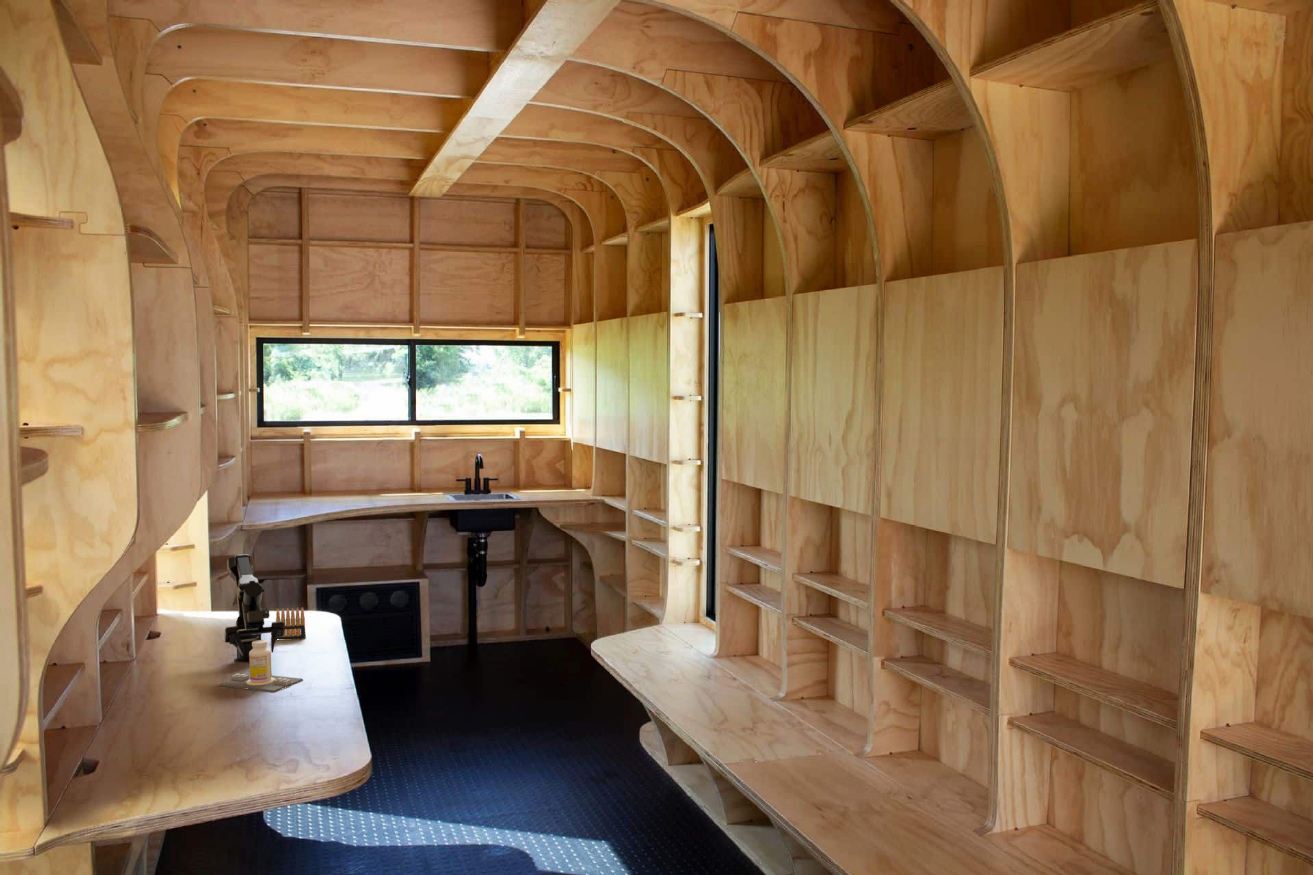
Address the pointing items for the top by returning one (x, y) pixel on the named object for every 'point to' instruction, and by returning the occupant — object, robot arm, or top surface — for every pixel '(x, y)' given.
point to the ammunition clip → (292, 624)
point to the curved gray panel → (271, 685)
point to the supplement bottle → (260, 662)
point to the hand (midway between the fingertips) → (257, 653)
